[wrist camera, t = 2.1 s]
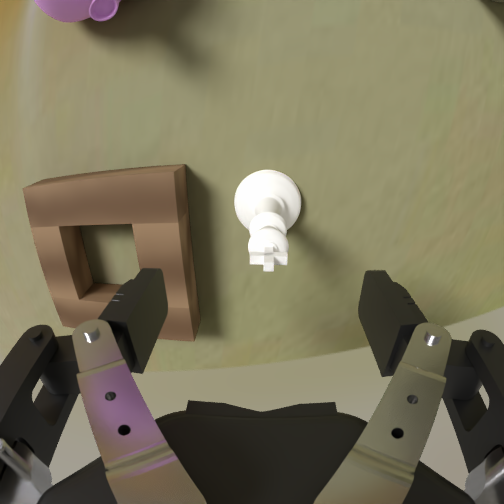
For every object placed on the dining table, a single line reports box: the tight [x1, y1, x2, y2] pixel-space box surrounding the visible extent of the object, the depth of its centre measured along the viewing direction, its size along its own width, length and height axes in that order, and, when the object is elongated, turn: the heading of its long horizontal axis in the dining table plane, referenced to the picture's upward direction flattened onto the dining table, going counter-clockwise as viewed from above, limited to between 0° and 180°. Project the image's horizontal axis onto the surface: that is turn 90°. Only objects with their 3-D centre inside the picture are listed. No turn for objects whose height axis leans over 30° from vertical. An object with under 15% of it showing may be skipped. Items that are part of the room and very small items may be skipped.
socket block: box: [23, 164, 201, 341], centre depth 23 cm, size 14×14×3 cm
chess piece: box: [234, 170, 301, 271], centre depth 18 cm, size 5×5×10 cm
